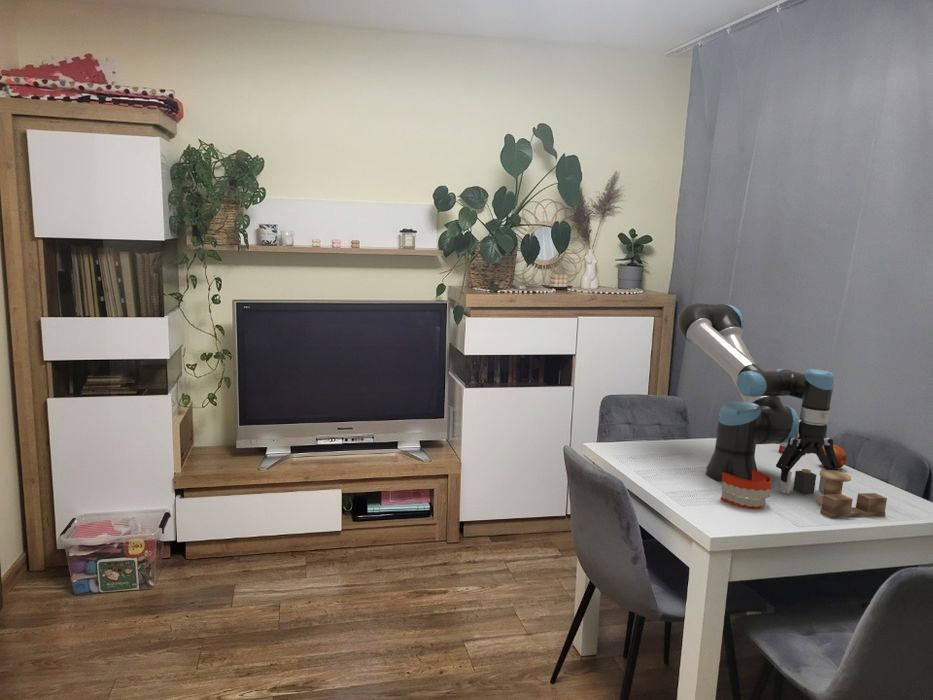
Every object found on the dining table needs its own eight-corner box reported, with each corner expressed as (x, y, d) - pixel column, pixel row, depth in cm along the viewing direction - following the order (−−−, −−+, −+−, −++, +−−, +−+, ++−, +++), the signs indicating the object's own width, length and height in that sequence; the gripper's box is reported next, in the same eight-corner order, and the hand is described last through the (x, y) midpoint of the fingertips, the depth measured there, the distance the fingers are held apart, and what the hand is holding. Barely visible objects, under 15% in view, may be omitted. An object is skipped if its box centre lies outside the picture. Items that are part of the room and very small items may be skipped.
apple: (831, 464, 246) (834, 441, 245) (850, 471, 238) (854, 448, 237) (812, 464, 244) (815, 441, 242) (831, 472, 236) (834, 449, 234)
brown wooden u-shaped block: (830, 518, 192) (833, 499, 191) (820, 512, 196) (822, 494, 195) (884, 516, 197) (887, 498, 196) (873, 510, 200) (876, 493, 200)
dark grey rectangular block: (802, 494, 211) (805, 472, 210) (793, 489, 214) (796, 468, 213) (813, 494, 212) (816, 472, 211) (804, 489, 215) (807, 467, 214)
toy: (745, 512, 192) (748, 484, 191) (717, 499, 201) (720, 472, 200) (779, 508, 197) (783, 481, 196) (750, 495, 206) (754, 469, 205)
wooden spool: (829, 509, 199) (834, 479, 198) (809, 499, 207) (813, 470, 205) (853, 508, 201) (857, 478, 200) (832, 498, 209) (836, 469, 207)
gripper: (786, 425, 203) (776, 496, 206) (858, 425, 210) (847, 494, 213) (769, 419, 210) (760, 488, 213) (838, 419, 217) (829, 486, 220)
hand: (803, 491), depth 213 cm, fingers open, 13 cm apart
